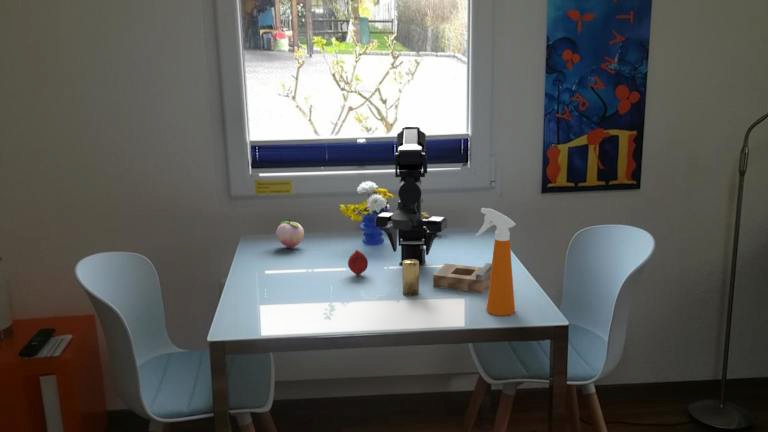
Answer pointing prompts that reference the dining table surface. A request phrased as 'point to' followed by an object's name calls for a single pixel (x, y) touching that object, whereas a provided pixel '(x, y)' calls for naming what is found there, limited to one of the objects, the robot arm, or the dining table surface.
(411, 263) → the brass cylinder rod
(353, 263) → the onion
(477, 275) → the jig
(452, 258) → the dining table surface
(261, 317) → the dining table surface
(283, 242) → the decorative fruit
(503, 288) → the spray bottle
